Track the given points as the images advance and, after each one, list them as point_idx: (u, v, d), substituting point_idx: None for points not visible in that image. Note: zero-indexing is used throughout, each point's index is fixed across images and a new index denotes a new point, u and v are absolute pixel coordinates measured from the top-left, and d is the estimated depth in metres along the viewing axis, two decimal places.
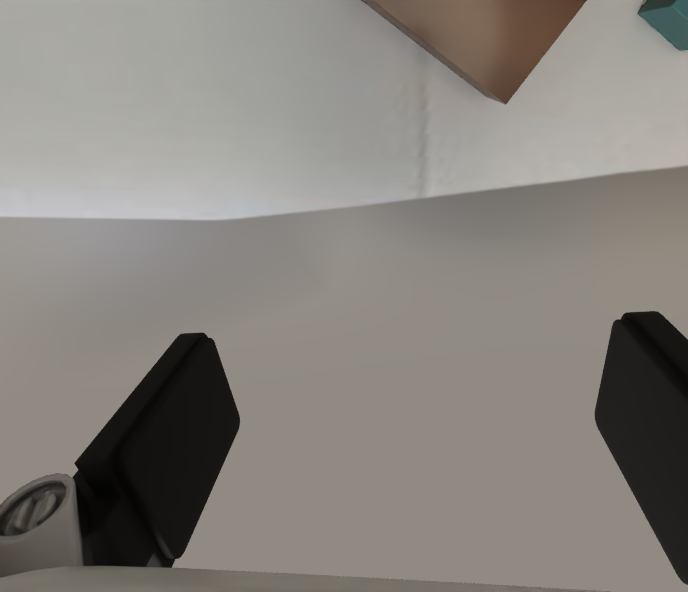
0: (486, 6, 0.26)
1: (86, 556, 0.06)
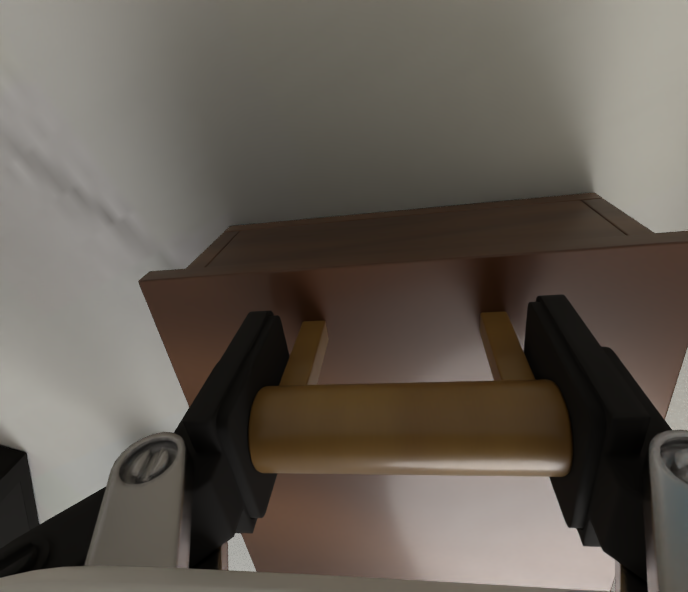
0: (488, 567, 0.17)
1: (184, 523, 0.06)
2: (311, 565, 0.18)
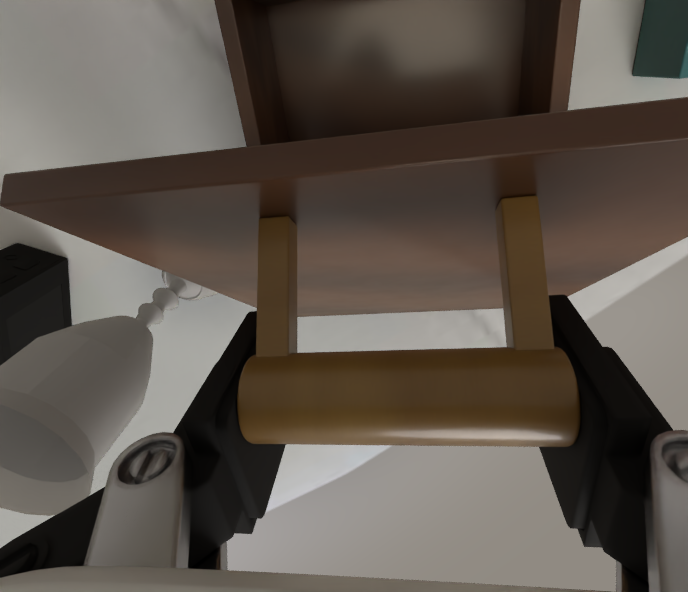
0: (463, 299, 0.20)
1: (183, 523, 0.06)
2: (313, 308, 0.22)
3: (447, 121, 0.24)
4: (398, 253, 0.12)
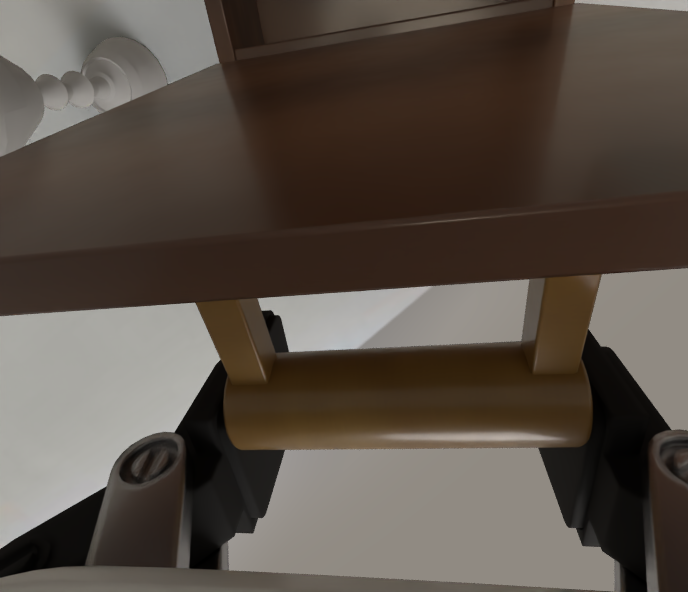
0: None
1: (185, 523, 0.06)
2: None
3: None
4: None
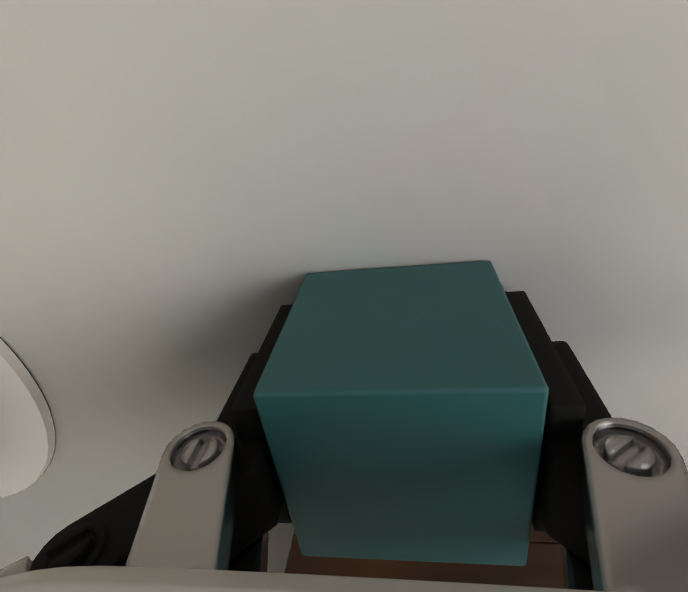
0: None
1: (227, 517, 0.06)
2: None
3: None
4: None
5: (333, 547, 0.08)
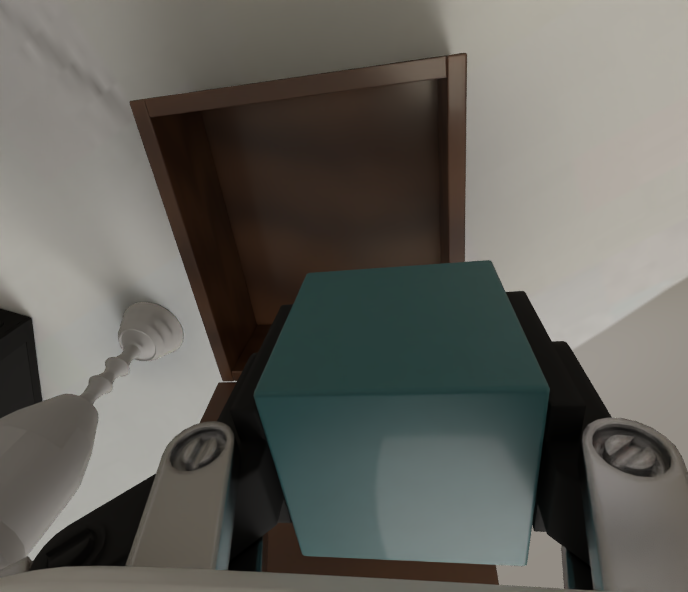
0: None
1: (228, 517, 0.06)
2: None
3: (375, 208, 0.26)
4: None
5: (334, 547, 0.08)
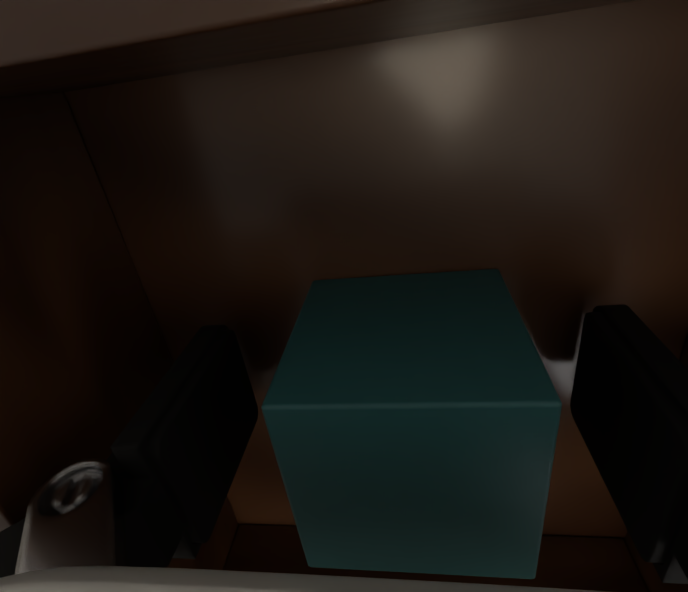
0: None
1: (118, 542, 0.06)
2: None
3: None
4: None
5: (340, 558, 0.08)
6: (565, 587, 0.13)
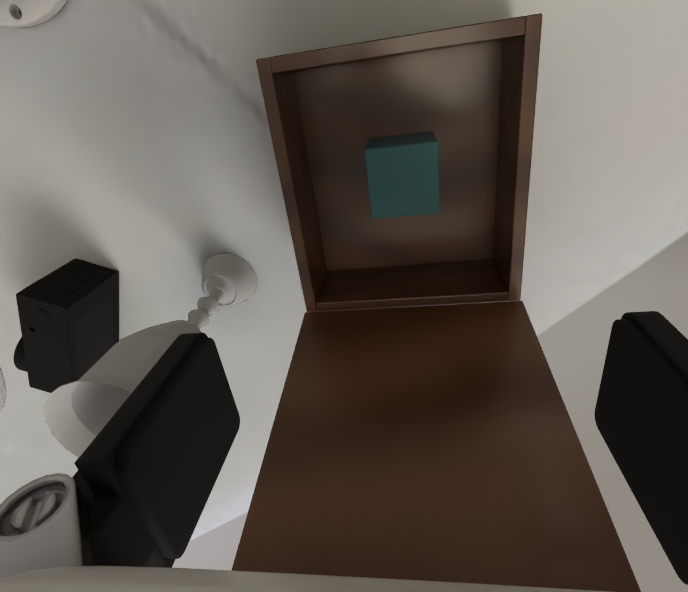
0: None
1: (86, 556, 0.06)
2: None
3: (440, 159, 0.30)
4: None
5: (382, 211, 0.28)
6: (465, 270, 0.32)
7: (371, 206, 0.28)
